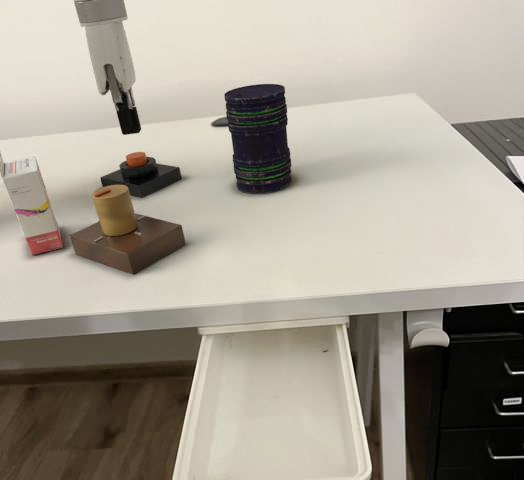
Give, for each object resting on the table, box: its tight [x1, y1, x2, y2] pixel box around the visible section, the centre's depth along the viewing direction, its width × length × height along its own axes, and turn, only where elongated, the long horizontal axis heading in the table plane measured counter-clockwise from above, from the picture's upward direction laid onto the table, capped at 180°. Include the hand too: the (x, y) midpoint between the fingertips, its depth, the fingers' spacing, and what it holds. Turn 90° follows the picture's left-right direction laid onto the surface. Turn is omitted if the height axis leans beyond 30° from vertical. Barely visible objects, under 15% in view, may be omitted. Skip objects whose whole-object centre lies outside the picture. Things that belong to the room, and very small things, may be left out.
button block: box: [99, 156, 183, 199], centre depth 101 cm, size 11×10×4 cm
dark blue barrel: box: [223, 83, 293, 195], centre depth 91 cm, size 10×10×15 cm
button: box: [125, 151, 148, 167], centre depth 100 cm, size 4×4×2 cm
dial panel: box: [69, 212, 186, 275], centre depth 79 cm, size 13×10×3 cm
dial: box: [91, 185, 138, 236], centre depth 77 cm, size 5×5×6 cm
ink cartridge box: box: [0, 151, 64, 256], centre depth 81 cm, size 9×5×15 cm, turn 22°
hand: (132, 132), depth 97 cm, fingers closed
